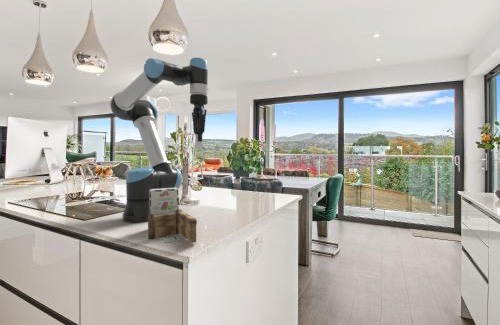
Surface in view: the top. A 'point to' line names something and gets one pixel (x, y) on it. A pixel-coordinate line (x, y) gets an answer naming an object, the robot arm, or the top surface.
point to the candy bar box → (163, 200)
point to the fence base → (162, 225)
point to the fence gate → (187, 226)
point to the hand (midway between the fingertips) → (198, 149)
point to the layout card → (170, 239)
